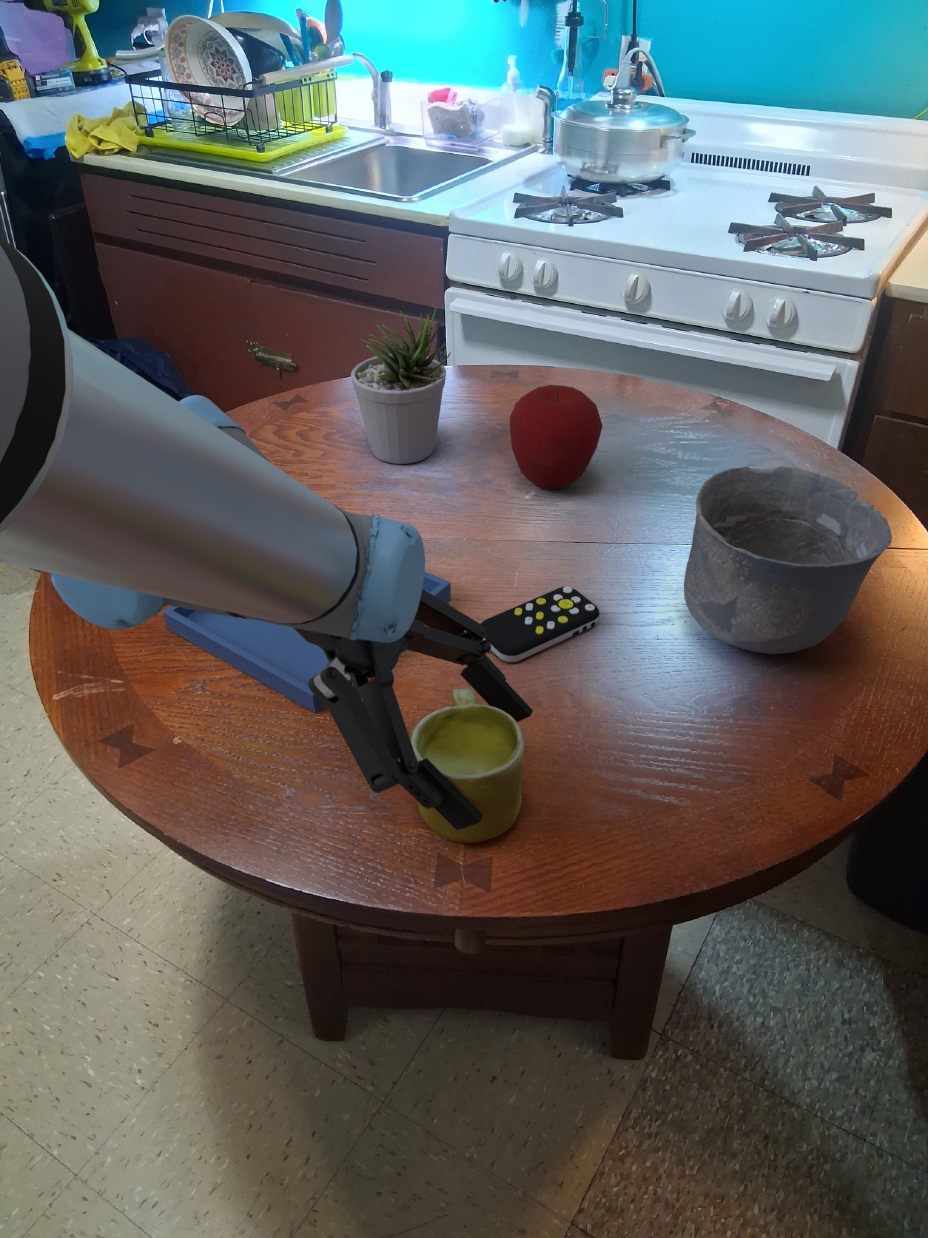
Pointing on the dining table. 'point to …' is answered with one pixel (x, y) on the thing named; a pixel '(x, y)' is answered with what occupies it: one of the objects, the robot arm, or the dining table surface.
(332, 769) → the dining table surface
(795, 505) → the grey stone bowl
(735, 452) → the dining table surface
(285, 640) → the blue tray
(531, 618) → the remote control
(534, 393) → the apple
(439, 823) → the mug
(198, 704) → the dining table surface
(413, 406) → the potted plant
